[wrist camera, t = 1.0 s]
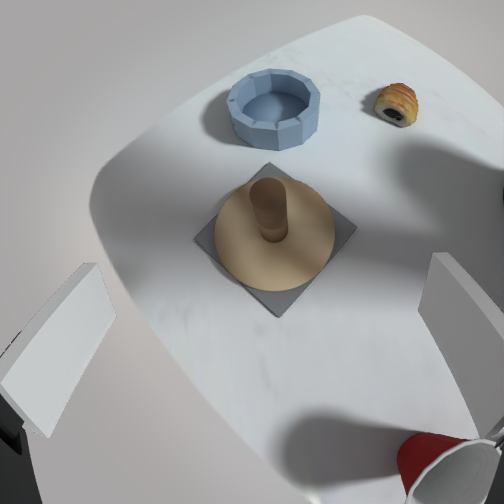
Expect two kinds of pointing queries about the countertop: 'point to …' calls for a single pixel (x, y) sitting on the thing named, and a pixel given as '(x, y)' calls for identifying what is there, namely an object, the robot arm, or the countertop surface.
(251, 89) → the bowl
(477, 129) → the countertop surface
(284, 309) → the mat
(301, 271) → the lid
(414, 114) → the pastry
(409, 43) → the countertop surface
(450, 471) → the plastic cup
